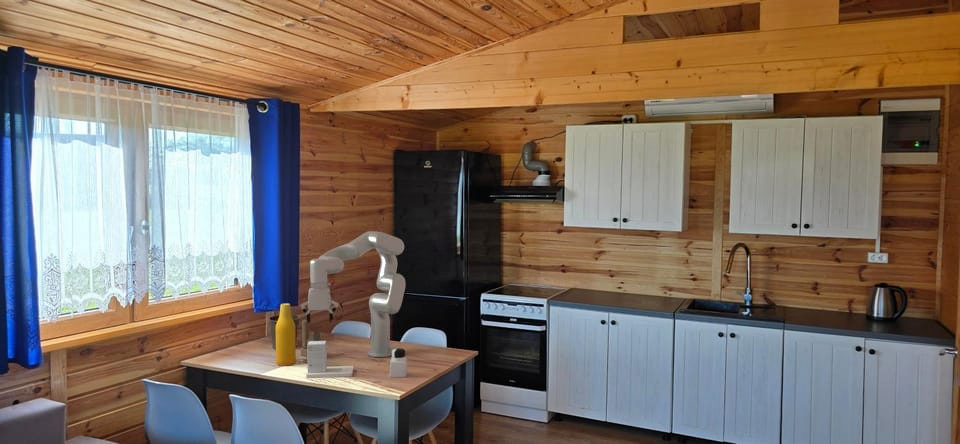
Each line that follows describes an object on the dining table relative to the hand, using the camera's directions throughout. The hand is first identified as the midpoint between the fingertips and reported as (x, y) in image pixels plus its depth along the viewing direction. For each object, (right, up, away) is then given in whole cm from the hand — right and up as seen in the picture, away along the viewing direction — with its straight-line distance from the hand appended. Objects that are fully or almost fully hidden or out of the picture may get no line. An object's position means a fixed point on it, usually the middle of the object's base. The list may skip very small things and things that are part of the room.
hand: (320, 322), depth 301 cm
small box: (0, -22, -4) cm, 22 cm away
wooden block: (-11, -22, +26) cm, 36 cm away
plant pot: (-30, -21, +44) cm, 57 cm away
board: (+5, -23, -3) cm, 24 cm away
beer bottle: (-20, -22, +13) cm, 33 cm away
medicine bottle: (+37, -24, -5) cm, 44 cm away
